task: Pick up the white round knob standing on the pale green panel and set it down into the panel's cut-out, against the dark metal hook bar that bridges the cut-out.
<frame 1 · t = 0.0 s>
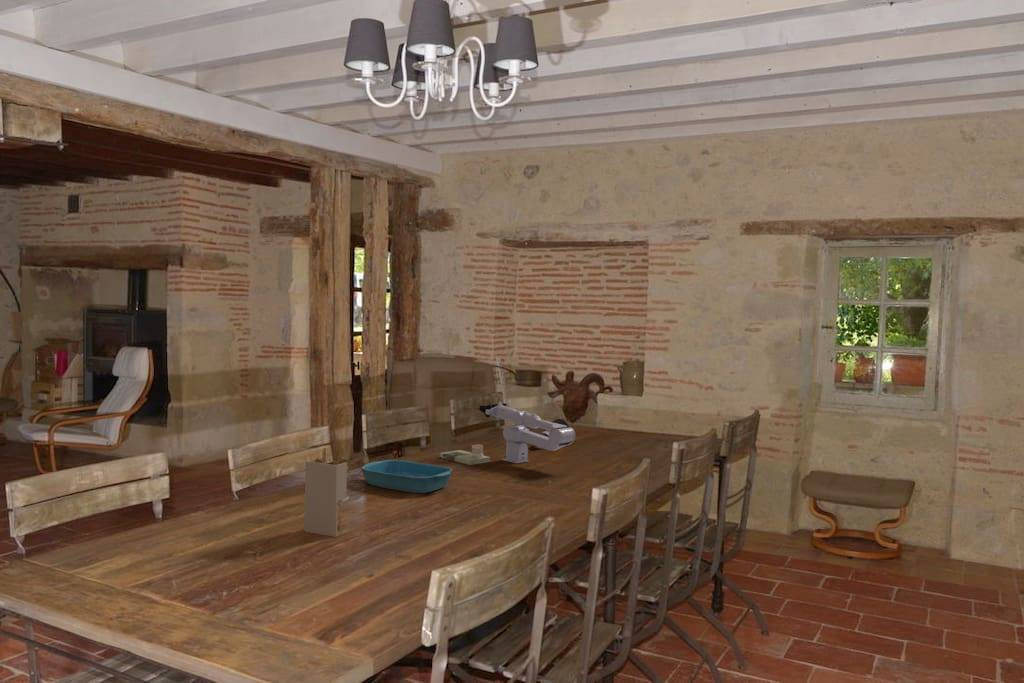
hand: (486, 407, 372), 22 cm above the table, tool horizontal, fingers open, 7 cm apart
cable: (547, 445, 402), on the table
tall grey upright box: (325, 533, 245), on the table
white round knob: (477, 456, 356), point 2 cm above the table, touching pale green panel
casserole dish: (406, 486, 308), on the table
pale green panel: (464, 459, 359), on the table
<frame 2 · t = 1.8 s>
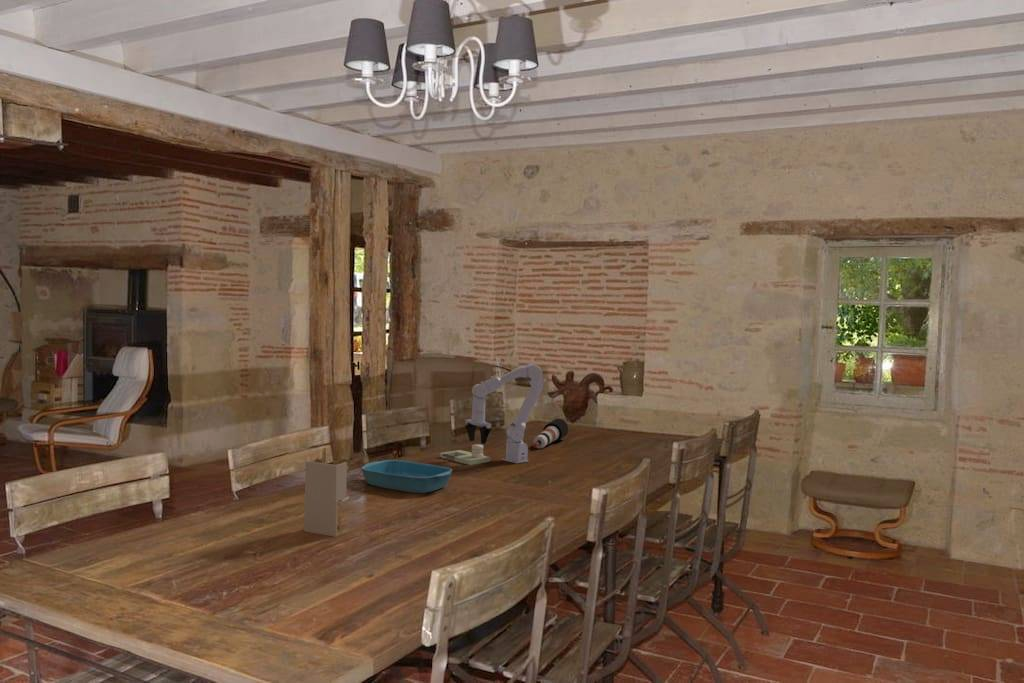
hand: (477, 442, 356), 8 cm above the table, tool pointing down, fingers open, 7 cm apart
nothing on the table moved.
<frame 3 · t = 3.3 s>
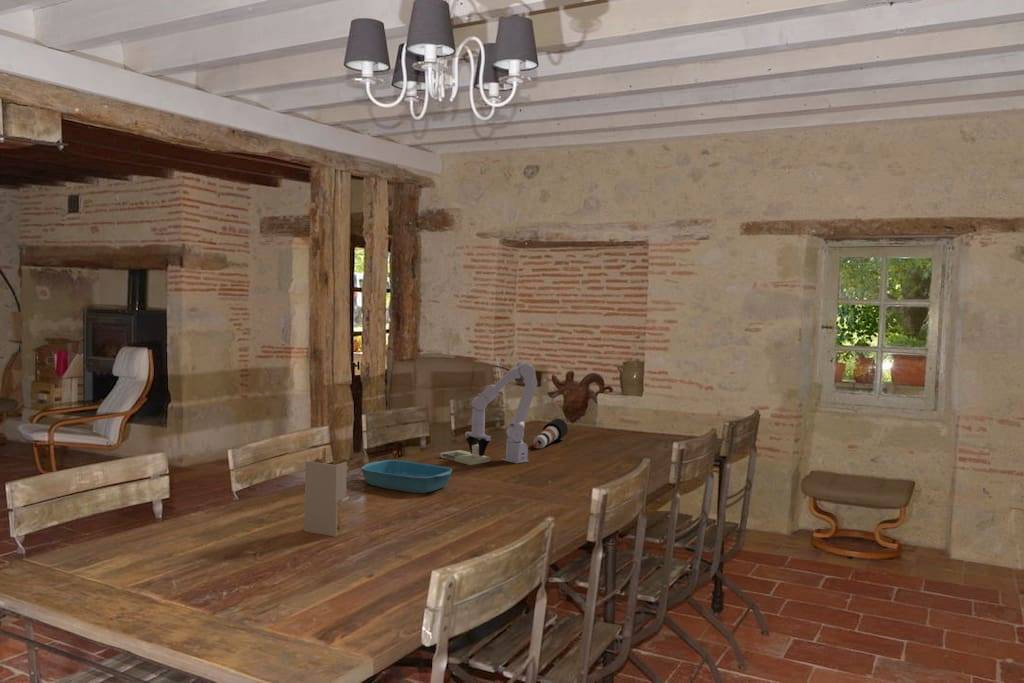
hand: (477, 454, 356), 3 cm above the table, tool pointing down, fingers closed on white round knob, 5 cm apart
white round knob: (477, 456, 356), point 2 cm above the table, touching gripper, pale green panel
everything else where it was.
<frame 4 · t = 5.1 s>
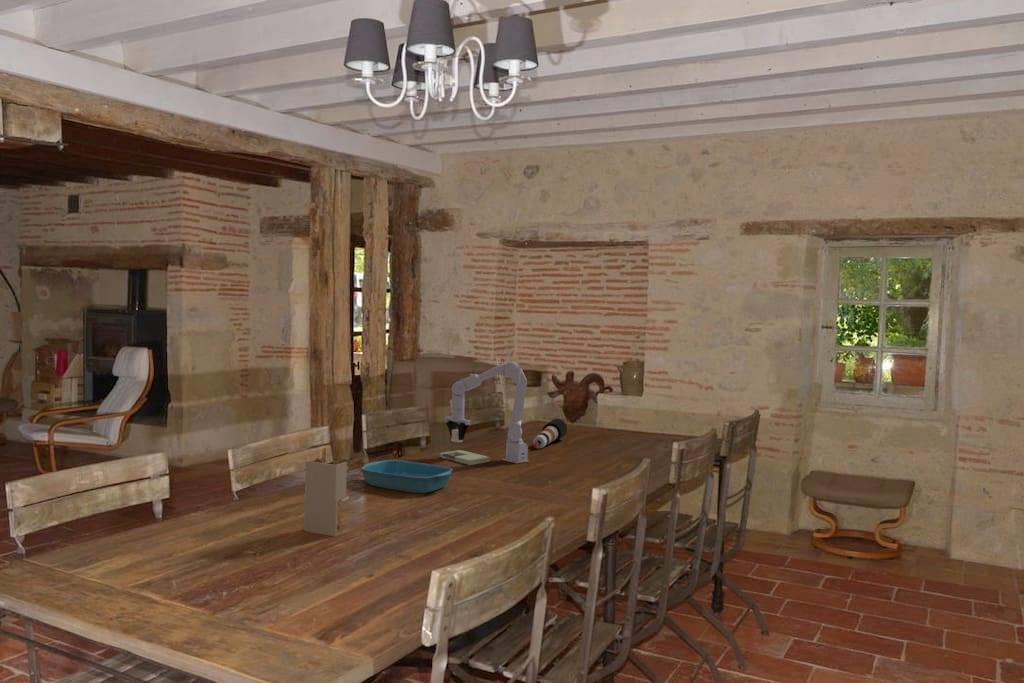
hand: (457, 438, 361), 9 cm above the table, tool pointing down, fingers closed on white round knob, 5 cm apart
white round knob: (457, 441, 361), point 8 cm above the table, touching gripper
everything else where it was.
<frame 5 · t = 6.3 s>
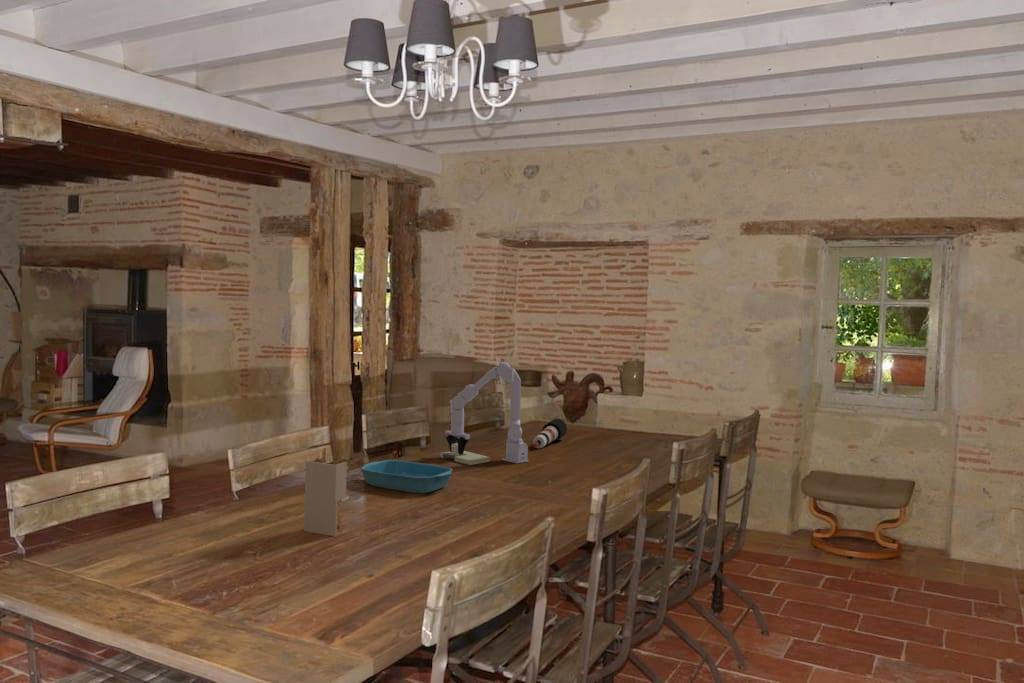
hand: (456, 453, 361), 2 cm above the table, tool pointing down, fingers closed on white round knob, 5 cm apart
white round knob: (456, 455, 361), point 1 cm above the table, touching gripper
everything else where it was.
when the fingers open (2 cm above the table, at t = 7.1 s): white round knob drops 1 cm, resting in pale green panel.
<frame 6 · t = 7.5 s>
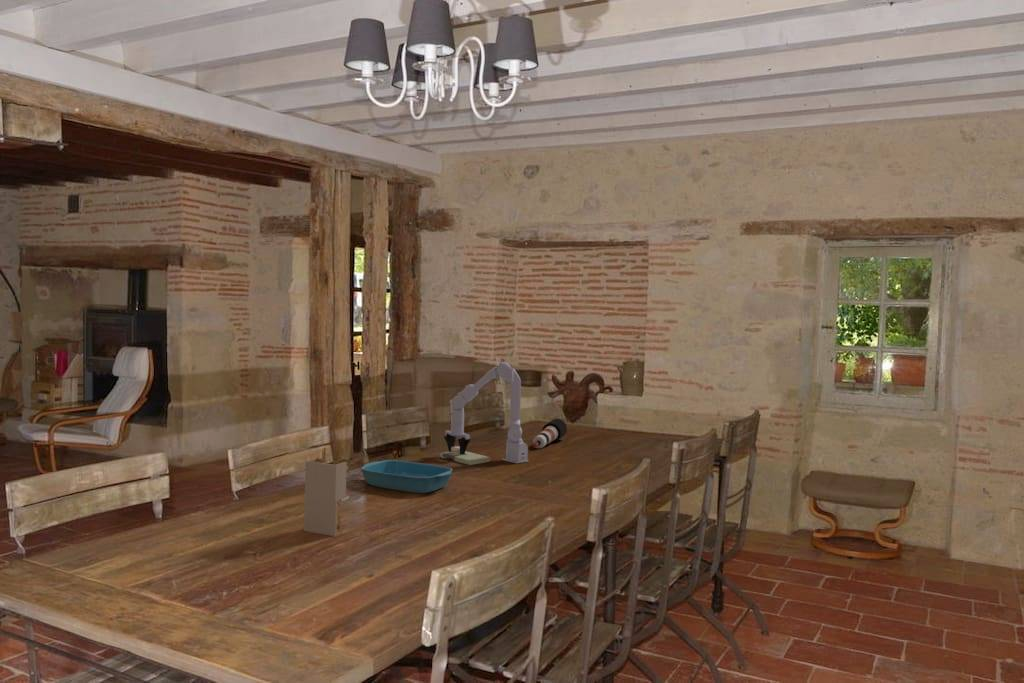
hand: (456, 453, 361), 2 cm above the table, tool pointing down, fingers open, 7 cm apart
white round knob: (456, 458, 361), resting in pale green panel
everything else where it was.
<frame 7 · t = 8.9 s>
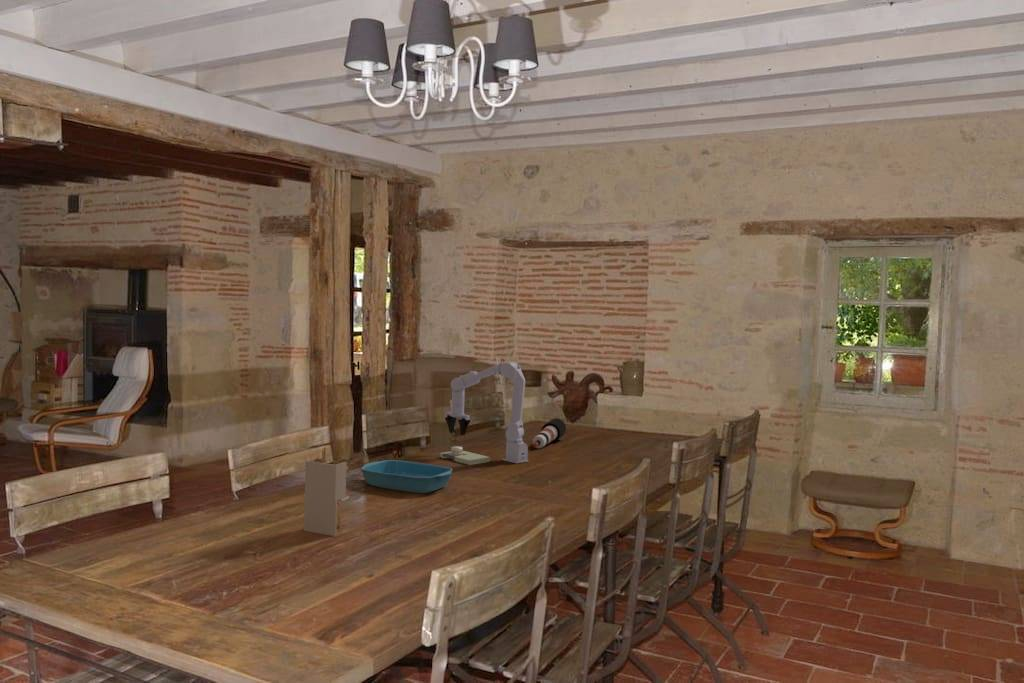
hand: (457, 433, 367), 10 cm above the table, tool pointing down, fingers open, 7 cm apart
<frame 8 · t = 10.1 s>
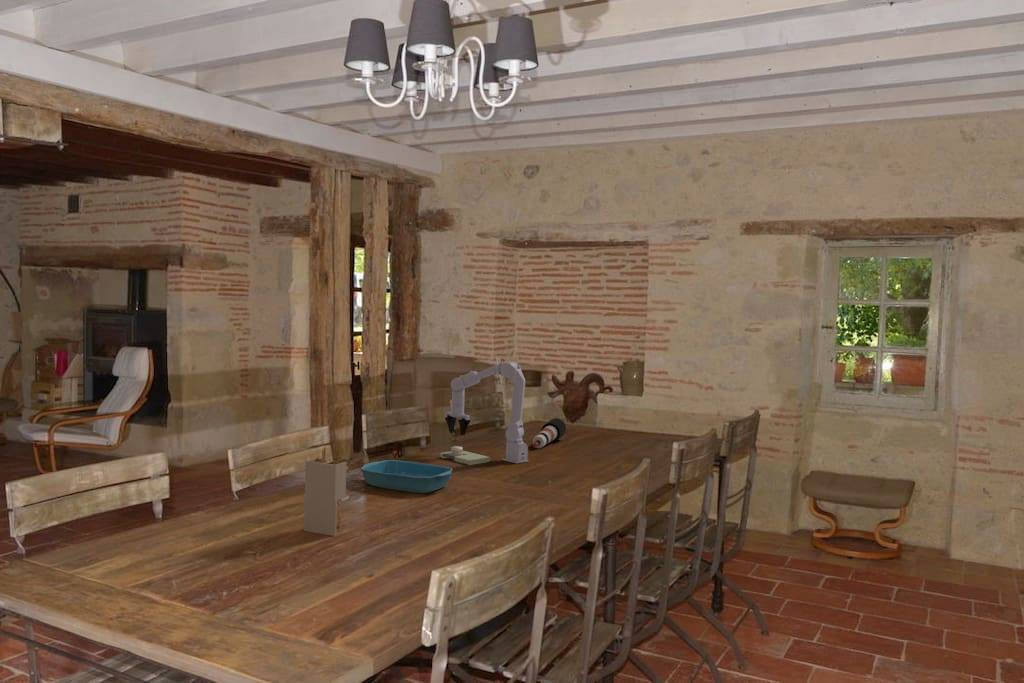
hand: (457, 433, 367), 10 cm above the table, tool pointing down, fingers open, 7 cm apart
at the end: white round knob 0.2 cm from the target spot on the pale green panel, point 0.0 cm above the pale green panel's base; white round knob tilted 0°; the gripper is holding nothing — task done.
